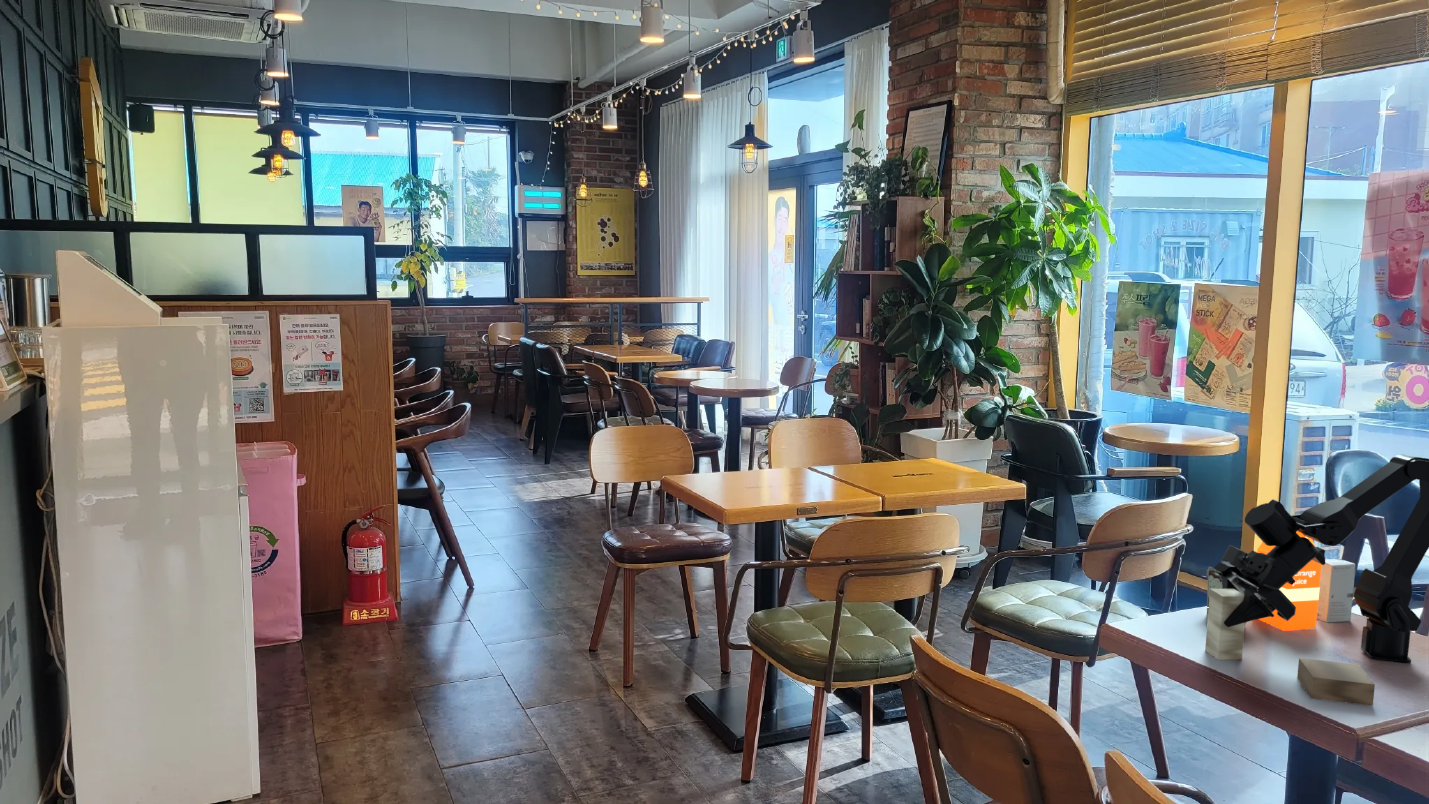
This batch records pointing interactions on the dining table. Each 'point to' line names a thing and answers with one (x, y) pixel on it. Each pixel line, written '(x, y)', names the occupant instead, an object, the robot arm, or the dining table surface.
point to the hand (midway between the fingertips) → (1218, 620)
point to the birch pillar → (1219, 636)
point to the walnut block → (1335, 681)
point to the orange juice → (1299, 595)
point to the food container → (1213, 582)
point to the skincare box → (1336, 590)
